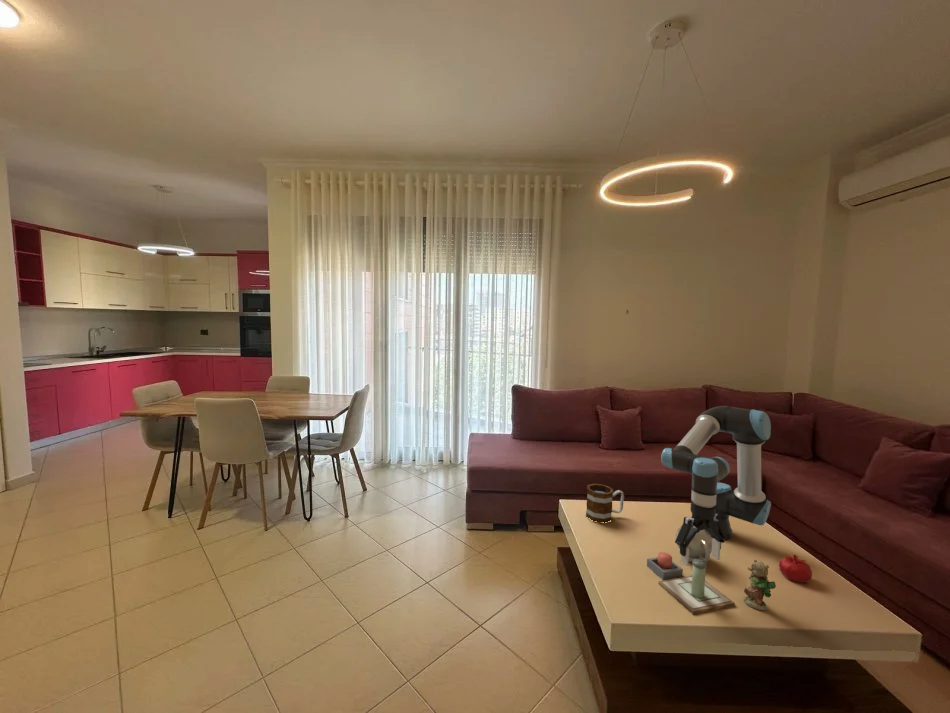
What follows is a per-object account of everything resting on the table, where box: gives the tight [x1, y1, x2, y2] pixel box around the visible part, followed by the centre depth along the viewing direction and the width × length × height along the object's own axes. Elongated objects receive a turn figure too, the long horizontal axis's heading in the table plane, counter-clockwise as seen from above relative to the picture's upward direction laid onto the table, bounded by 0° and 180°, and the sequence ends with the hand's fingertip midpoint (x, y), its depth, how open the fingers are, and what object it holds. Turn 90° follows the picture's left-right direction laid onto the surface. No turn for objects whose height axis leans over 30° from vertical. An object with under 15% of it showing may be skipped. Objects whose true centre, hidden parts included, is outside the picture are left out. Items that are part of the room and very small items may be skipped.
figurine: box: [743, 559, 776, 611], centre depth 132 cm, size 9×8×15 cm
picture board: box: [657, 575, 736, 615], centre depth 138 cm, size 18×16×1 cm
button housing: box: [646, 556, 684, 581], centre depth 151 cm, size 9×9×3 cm
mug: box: [585, 483, 625, 523], centre depth 195 cm, size 20×14×15 cm
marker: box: [691, 559, 707, 599], centre depth 135 cm, size 4×4×12 cm
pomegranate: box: [778, 553, 813, 583], centre depth 149 cm, size 10×10×9 cm
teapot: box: [675, 525, 713, 564], centre depth 158 cm, size 18×14×16 cm
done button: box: [657, 551, 673, 570], centre depth 151 cm, size 5×5×4 cm
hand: (700, 560), depth 135 cm, fingers open, 13 cm apart
